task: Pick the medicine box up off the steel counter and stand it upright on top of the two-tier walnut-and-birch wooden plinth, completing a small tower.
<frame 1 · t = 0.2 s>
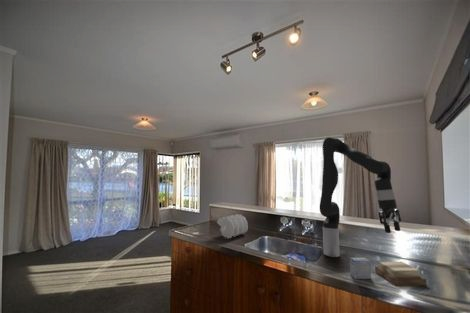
hand: (393, 231, 105), 22 cm above the worktop, tool pointing down, fingers open, 8 cm apart
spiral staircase: (233, 236, 174), on the worktop
plinth: (399, 278, 102), on the worktop
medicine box: (360, 277, 104), on the worktop
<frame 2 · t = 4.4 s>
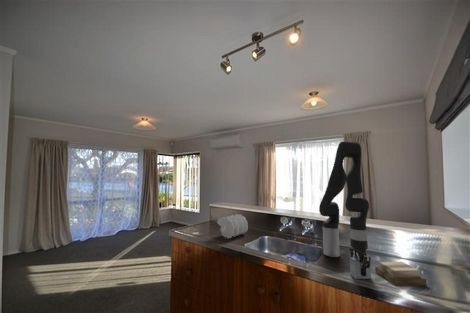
hand: (360, 273, 104), 2 cm above the worktop, tool pointing down, fingers closed on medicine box, 4 cm apart
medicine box: (360, 277, 104), on the worktop, touching gripper
everything else where it was.
when the fingers open (9 cm above the worktop, at t = 10.3 s): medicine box drops 1 cm, resting on plinth.
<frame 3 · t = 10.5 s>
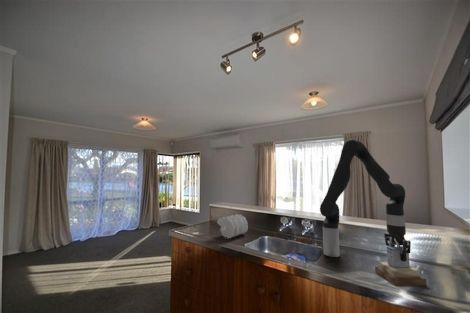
hand: (397, 258, 103), 10 cm above the worktop, tool pointing down, fingers open, 6 cm apart
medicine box: (398, 266, 103), point 6 cm above the worktop, touching plinth
everything else where it was.
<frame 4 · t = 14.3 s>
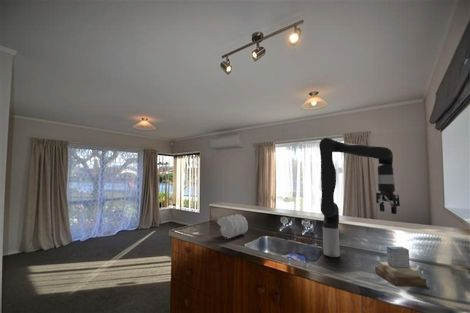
hand: (387, 212, 115), 30 cm above the worktop, tool pointing down, fingers open, 8 cm apart
nothing on the worktop moved.
at the end: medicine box inside the target area on the plinth (0.1 cm from its centre), point 5.8 cm above the plinth's base; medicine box tilted 0°; the gripper is holding nothing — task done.
